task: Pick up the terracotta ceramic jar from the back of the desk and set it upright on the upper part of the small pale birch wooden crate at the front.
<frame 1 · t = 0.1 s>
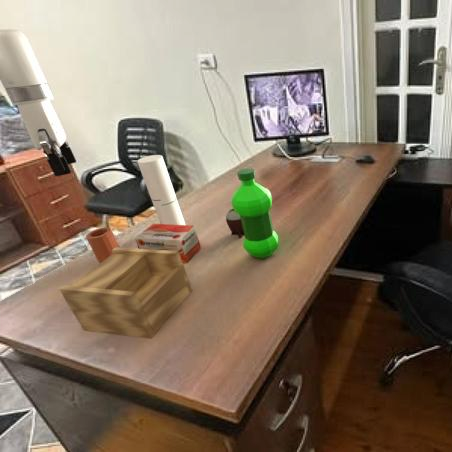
hand: (66, 168, 85), 31 cm above the table, tool pointing down, fingers open, 9 cm apart
wooden crate: (141, 309, 84), on the table
mate gourd: (242, 232, 113), on the table
jar: (110, 258, 106), on the table
cylindrical container: (175, 230, 119), on the table
plastic bottle: (263, 253, 101), on the table
medicine box: (173, 254, 105), on the table
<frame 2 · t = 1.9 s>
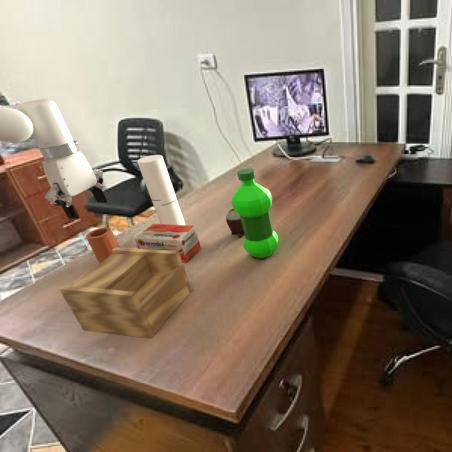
hand: (89, 210, 98), 16 cm above the table, tool pointing down, fingers open, 9 cm apart
nothing on the table moved.
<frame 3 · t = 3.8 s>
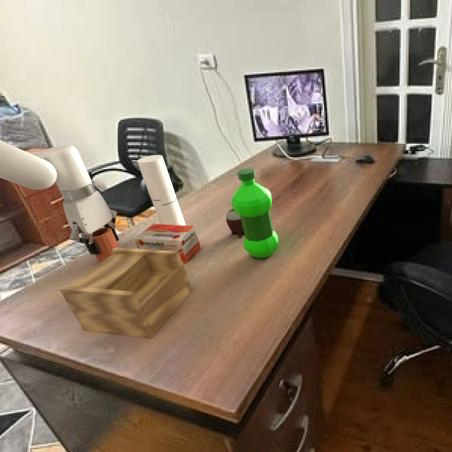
hand: (105, 246, 104), 4 cm above the table, tool pointing down, fingers closed on jar, 6 cm apart
jar: (110, 258, 106), on the table, touching gripper
everything else where it was.
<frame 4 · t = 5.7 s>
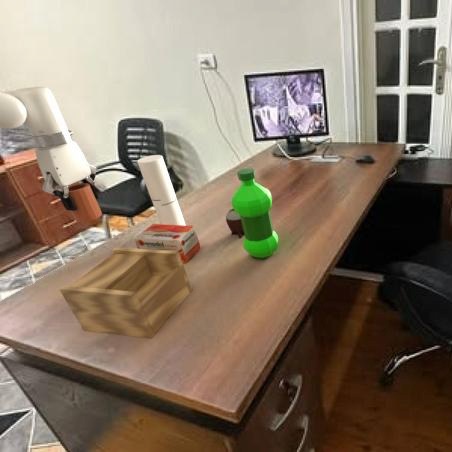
hand: (83, 203, 96), 18 cm above the table, tool pointing down, fingers closed on jar, 6 cm apart
jar: (89, 217, 98), point 14 cm above the table, touching gripper
everything else where it was.
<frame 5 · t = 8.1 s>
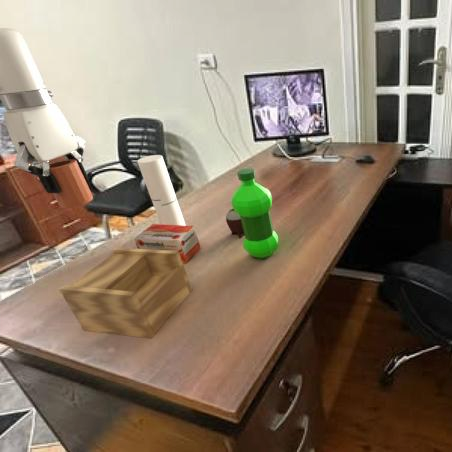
hand: (68, 185, 77), 30 cm above the table, tool pointing down, fingers closed on jar, 6 cm apart
jar: (77, 202, 79), point 25 cm above the table, touching gripper
everything else where it was.
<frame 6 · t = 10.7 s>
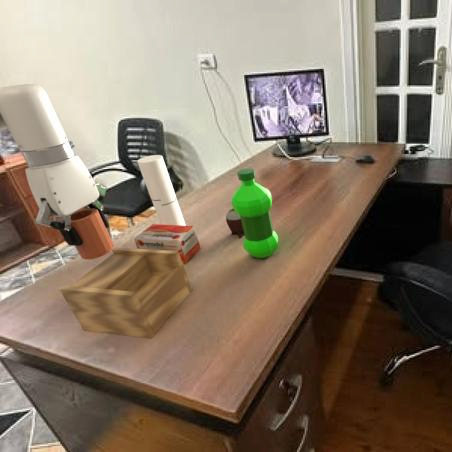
hand: (89, 235, 75), 21 cm above the table, tool pointing down, fingers closed on jar, 6 cm apart
jar: (97, 251, 77), point 16 cm above the table, touching gripper
everything else where it was.
when the fingers open (15 cm above the table, at t = 12.5 s): jar stays where it is, resting on wooden crate.
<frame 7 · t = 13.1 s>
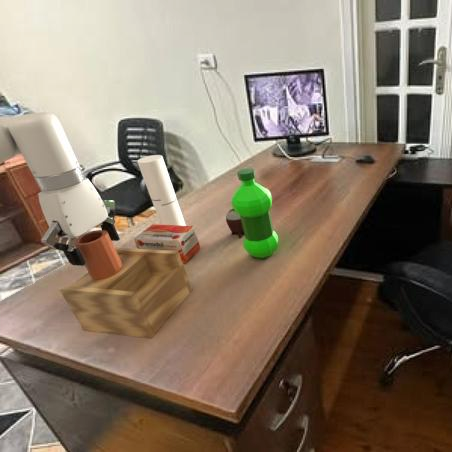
hand: (97, 251, 77), 16 cm above the table, tool pointing down, fingers open, 9 cm apart
jar: (107, 271, 79), point 11 cm above the table, touching wooden crate
everything else where it was.
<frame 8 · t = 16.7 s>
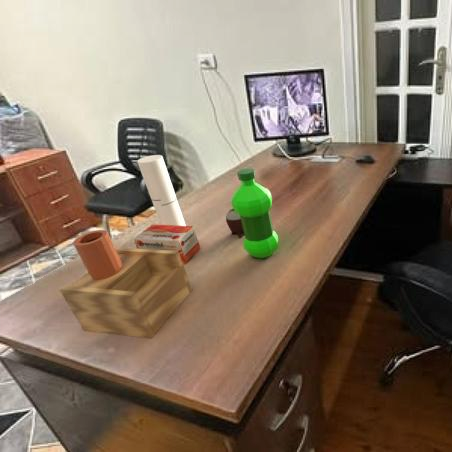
nothing on the table moved.
at the end: jar inside the target area on the wooden crate (0.2 cm from its centre), point 11.0 cm above the wooden crate's base; jar tilted 0° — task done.
